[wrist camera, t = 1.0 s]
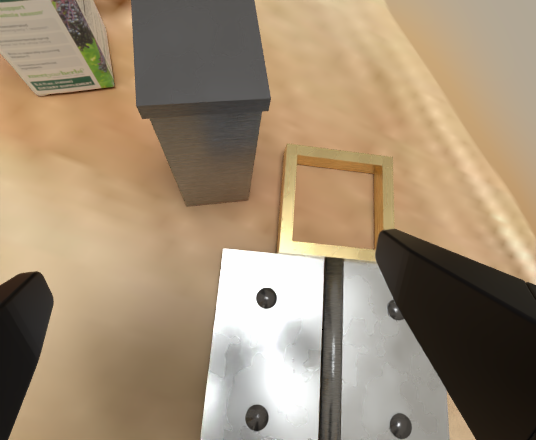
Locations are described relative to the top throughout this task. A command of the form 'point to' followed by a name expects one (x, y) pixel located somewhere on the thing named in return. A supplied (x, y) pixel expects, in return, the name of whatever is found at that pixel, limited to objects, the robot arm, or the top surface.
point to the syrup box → (56, 44)
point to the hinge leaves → (318, 335)
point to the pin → (202, 91)
